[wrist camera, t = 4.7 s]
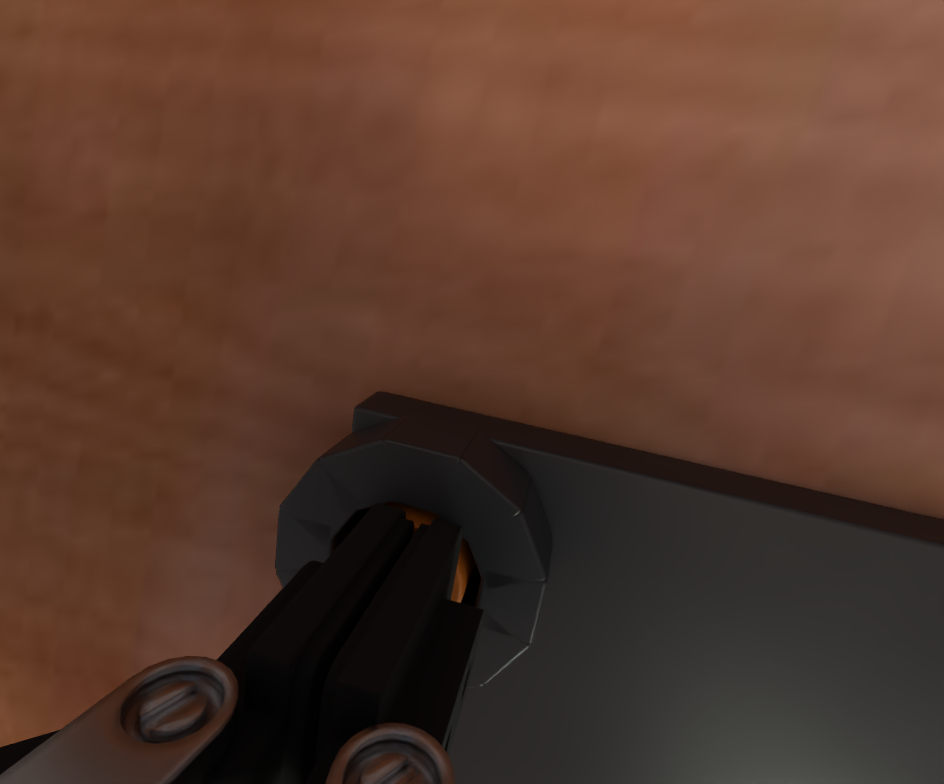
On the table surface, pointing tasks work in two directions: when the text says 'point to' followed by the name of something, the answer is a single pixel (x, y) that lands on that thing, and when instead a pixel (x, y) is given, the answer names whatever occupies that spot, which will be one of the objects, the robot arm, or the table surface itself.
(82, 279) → the table surface
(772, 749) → the scale
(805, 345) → the table surface
